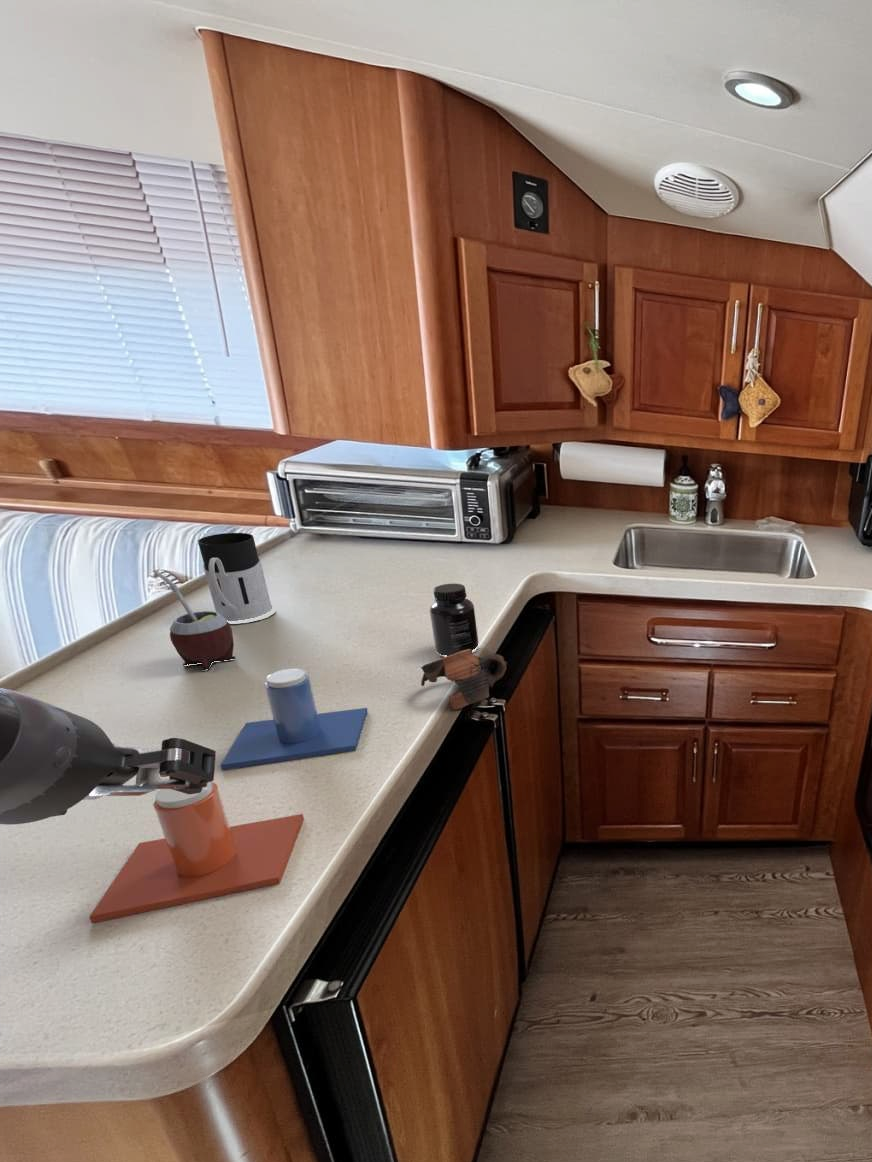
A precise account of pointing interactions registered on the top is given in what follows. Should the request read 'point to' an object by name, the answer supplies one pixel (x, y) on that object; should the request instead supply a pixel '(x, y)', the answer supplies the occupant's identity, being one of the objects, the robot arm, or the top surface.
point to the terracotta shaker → (195, 830)
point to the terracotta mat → (159, 885)
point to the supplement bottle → (453, 620)
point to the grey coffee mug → (235, 575)
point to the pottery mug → (466, 675)
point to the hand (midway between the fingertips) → (132, 791)
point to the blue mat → (265, 747)
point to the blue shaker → (292, 706)
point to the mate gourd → (200, 634)
